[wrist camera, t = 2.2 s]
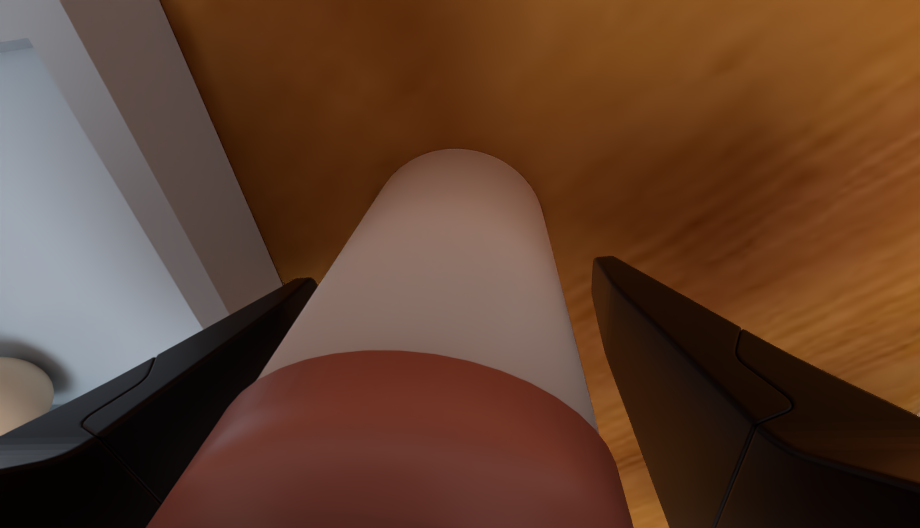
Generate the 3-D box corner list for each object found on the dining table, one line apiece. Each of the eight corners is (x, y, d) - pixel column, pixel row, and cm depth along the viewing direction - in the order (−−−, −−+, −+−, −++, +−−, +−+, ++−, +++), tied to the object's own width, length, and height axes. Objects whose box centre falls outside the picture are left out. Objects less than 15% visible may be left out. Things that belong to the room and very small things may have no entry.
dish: (148, -25, 9) (37, -39, 7) (332, 400, 16) (307, 459, 14) (-324, 61, 10) (-531, 71, 8) (34, 410, 18) (-28, 463, 16)
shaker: (546, 133, 10) (726, 513, 2) (548, 300, 13) (635, 731, 5) (349, 155, 11) (-22, 508, 3) (391, 309, 13) (253, 701, 6)
